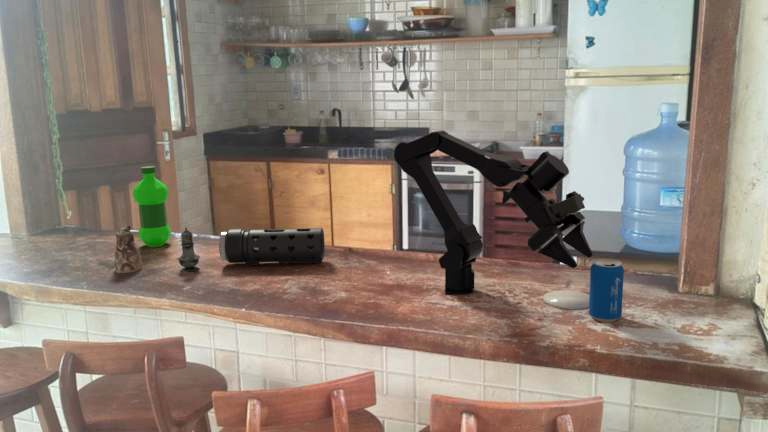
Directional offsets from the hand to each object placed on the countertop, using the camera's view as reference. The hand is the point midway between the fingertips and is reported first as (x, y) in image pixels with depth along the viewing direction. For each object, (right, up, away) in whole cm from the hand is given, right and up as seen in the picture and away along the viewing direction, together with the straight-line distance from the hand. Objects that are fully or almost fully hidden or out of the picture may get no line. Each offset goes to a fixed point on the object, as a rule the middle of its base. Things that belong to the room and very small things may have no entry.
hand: (583, 261), depth 138 cm
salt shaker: (-95, -6, +43) cm, 105 cm away
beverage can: (+4, -12, 0) cm, 13 cm away
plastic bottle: (-115, 0, +73) cm, 136 cm away
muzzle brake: (-73, -4, +47) cm, 87 cm away
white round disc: (0, -10, +10) cm, 14 cm away
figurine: (-113, -5, +46) cm, 122 cm away
